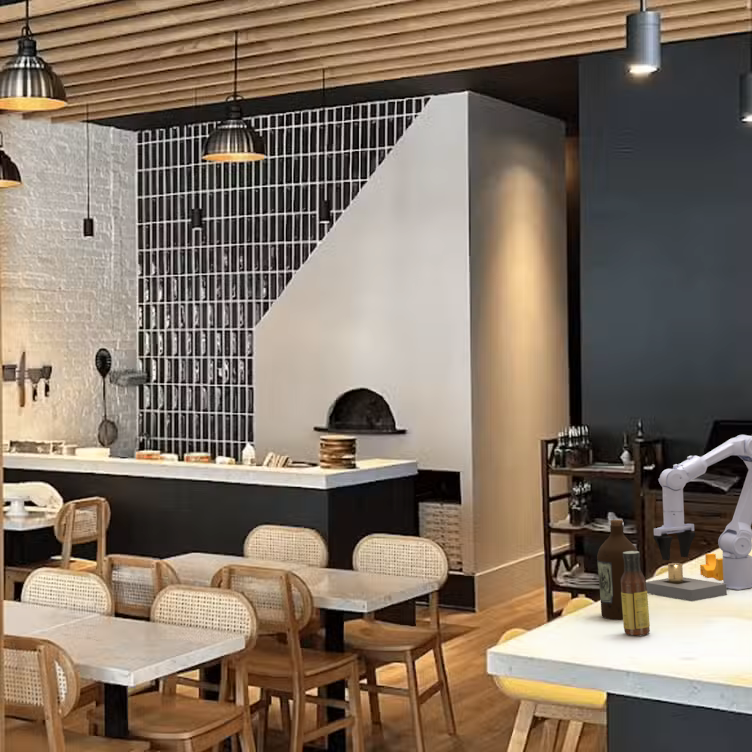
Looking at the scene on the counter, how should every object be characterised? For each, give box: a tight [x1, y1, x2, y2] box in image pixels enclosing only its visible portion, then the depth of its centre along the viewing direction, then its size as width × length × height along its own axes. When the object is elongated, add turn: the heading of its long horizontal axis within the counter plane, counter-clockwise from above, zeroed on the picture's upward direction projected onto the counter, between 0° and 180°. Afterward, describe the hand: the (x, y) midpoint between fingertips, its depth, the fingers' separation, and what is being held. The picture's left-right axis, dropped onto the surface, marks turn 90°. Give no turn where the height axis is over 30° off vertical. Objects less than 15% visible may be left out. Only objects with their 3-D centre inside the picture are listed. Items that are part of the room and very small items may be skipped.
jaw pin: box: [667, 562, 684, 584], centre depth 355 cm, size 4×4×8 cm
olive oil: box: [596, 519, 638, 621], centre depth 324 cm, size 11×11×25 cm
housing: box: [646, 576, 728, 602], centre depth 353 cm, size 14×18×3 cm
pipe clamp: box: [699, 553, 723, 582], centre depth 378 cm, size 12×4×6 cm, turn 3°
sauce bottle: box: [621, 550, 651, 637], centre depth 302 cm, size 7×6×20 cm
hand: (675, 558), depth 357 cm, fingers open, 7 cm apart
